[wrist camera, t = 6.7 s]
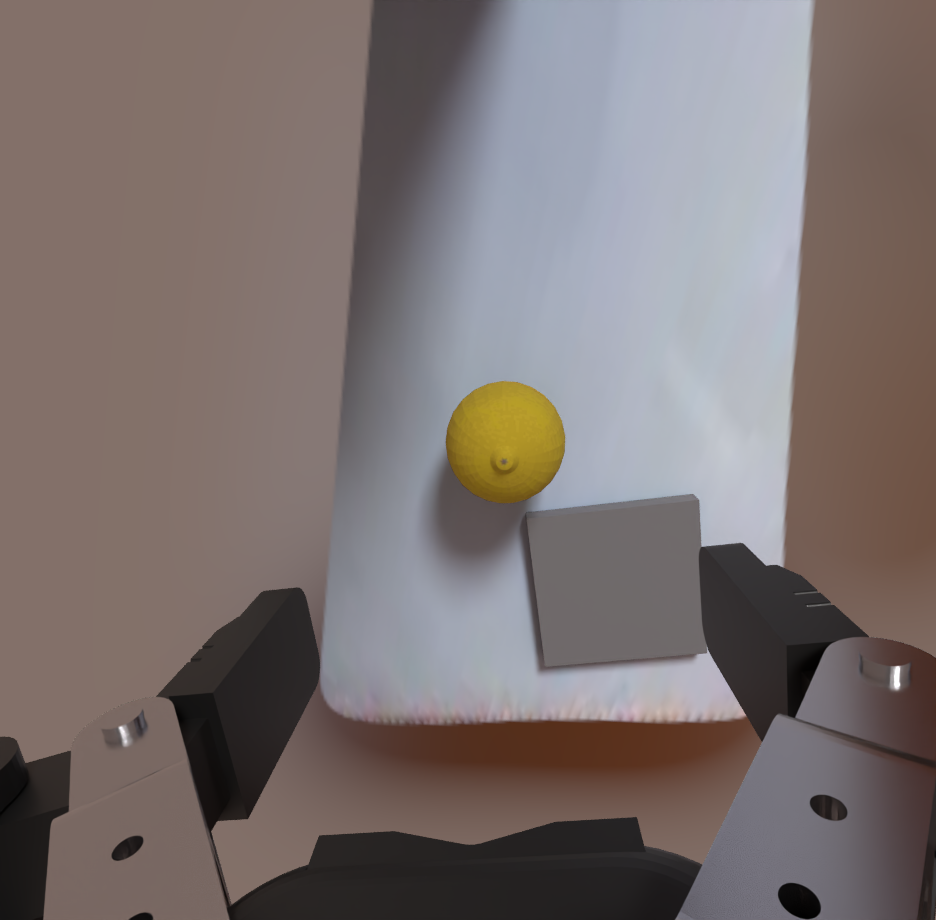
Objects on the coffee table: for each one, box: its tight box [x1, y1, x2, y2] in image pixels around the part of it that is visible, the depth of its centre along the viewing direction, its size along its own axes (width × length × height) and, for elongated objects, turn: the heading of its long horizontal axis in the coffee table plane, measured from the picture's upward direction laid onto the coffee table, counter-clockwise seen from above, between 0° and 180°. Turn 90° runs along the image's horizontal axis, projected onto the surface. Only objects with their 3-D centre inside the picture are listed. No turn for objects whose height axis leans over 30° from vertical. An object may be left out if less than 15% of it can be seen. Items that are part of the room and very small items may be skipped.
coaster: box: [526, 494, 707, 667], centre depth 32 cm, size 9×9×1 cm
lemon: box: [446, 381, 565, 503], centre depth 27 cm, size 6×6×8 cm
